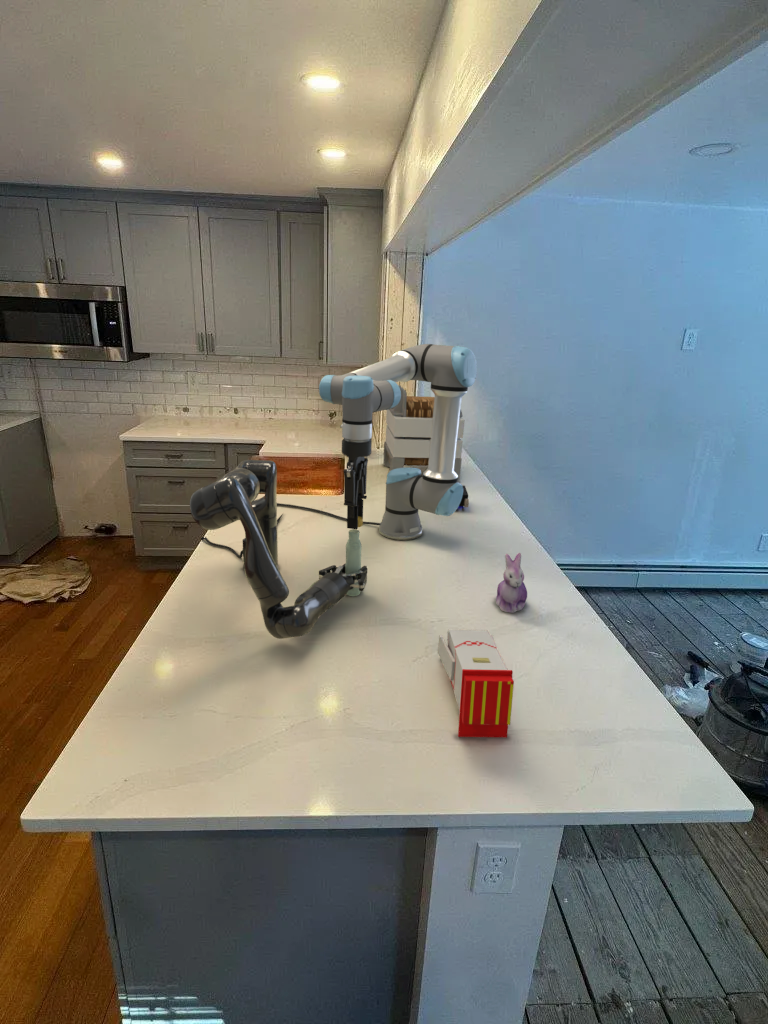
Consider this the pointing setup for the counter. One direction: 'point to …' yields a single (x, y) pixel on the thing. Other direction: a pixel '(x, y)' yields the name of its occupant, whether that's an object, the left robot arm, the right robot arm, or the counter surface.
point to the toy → (478, 682)
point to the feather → (279, 518)
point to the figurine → (512, 586)
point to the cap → (360, 521)
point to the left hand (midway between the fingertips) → (357, 567)
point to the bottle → (353, 557)
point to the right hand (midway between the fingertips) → (355, 525)
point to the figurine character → (464, 499)
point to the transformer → (413, 433)
